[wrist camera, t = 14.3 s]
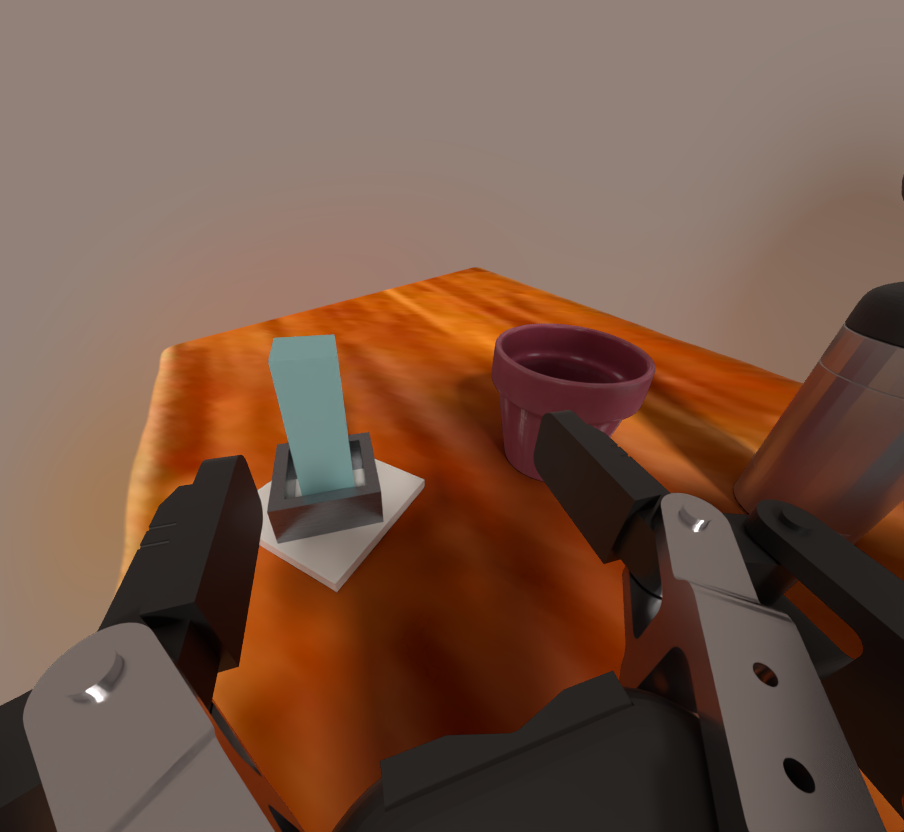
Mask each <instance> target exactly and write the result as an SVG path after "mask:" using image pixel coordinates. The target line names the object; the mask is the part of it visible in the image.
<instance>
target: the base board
mask: <svg viewBox="0 0 904 832" xmlns="http://www.w3.org/2000/svg"><path fill="white" fill-rule="evenodd" d="M375 464H376V468H377V473H378V478H379V483H380V488H381V495H382V508H383V521H384V522H381V523H376V524H371V525H367V526H362V527H357V528H352V529H347V530H342V531H338V532H333V533H328V534H323V535H318V536H313V537H309V538H304V539H299V540H294V541H289V542H285V543H280V544H278V543H277V540H276V537H275V535H274V532H273V529H272V526H271V523H270V520H269V517H268V514H267V509H268V502H269V496H270V489H271V482H272V481H270V482H269V483H267V484H266V485H265V486H263V487H262V488H260V489H259V490H258V494H259V497H260V499H261V503H262V509H263V525H262V531H261V537H260V543H259V545H260V546H262V547H264V548H265V549H267V550H269V551H270V552H272V553H273V554H275V555H277V556H278V557H280V558H282V559H283V560H285V561H287V562H288V563H290V564H291V565H293V566H295V567H296V568H298V569H300V570H301V571H303V572H305V573H306V574H308V575H309V576H311V577H313V578H314V579H316V580H318V581H319V582H321V583H323V584H324V585H326V586H327V587H329V588H331V589H332V590H334V591H336V592H338V590H339V589H340V588H341V587H342V586H343V584H344V583H345V582H346V581H347V580H348V578H349V577H350V576H351V575H352V574H353V572H354V571H355V570H356V569H357V568H358V566H359V565H360V564H361V563H362V562H363V560H364V559H365V558H366V557H367V556H368V554H369V553H370V552H371V551H372V550H373V548H374V547H375V546H376V545H377V544H378V542H379V541H380V540H381V539H382V538H383V536H384V535H385V534H386V533H387V532H388V530H389V529H390V528H391V527H392V526H393V524H394V523H395V522H396V521H397V520H398V518H399V517H400V516H401V515H402V514H403V512H404V511H405V510H406V509H407V508H408V506H409V505H410V504H411V503H412V502H413V500H414V499H415V498H416V497H417V496H418V494H419V493H420V492H421V491H422V490H423V488H424V487H425V480H424V479H422V478H419V477H417V476H415V475H412V474H410V473H407V472H405V471H403V470H400V469H398V468H395V467H393V466H390V465H388V464H386V463H383V462H381V461H378V460H376V459H375ZM353 477H354V484H355V487H357V486H363V485H365V481H364V475H363V469H357V470H353ZM300 496H302V494H301V490H300V486H299V482H298V479H296V490H295V497H300Z"/></svg>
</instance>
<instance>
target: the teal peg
mask: <svg viewBox="0 0 904 832" xmlns="http://www.w3.org/2000/svg"><path fill="white" fill-rule="evenodd" d="M268 362H269V366H270V370H271V374H272V378H273V382H274V386H275V390H276V394H277V398H278V402H279V406H280V410H281V414H282V418H283V422H284V426H285V430H286V434H287V438H288V442H289V446H290V450H291V454H292V458H293V462H294V466H295V470H296V474H297V478H298V482H299V486H300V490H301V494H302V496H306V495H312V494H317V493H323V492H329V491H334V490H340V489H346V488H352V487H355V484H354V477H353V469H352V462H351V454H350V447H349V439H348V432H347V424H346V416H345V409H344V401H343V394H342V386H341V379H340V371H339V364H338V356H337V350H336V343H335V336H334V335H318V336H300V337H283V338H274V339H273V344H272V348H271V352H270V357H269V361H268Z"/></svg>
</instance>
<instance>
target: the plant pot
mask: <svg viewBox="0 0 904 832" xmlns="http://www.w3.org/2000/svg"><path fill="white" fill-rule="evenodd" d="M654 373H655V364H654V362H653V360H652V358H651V357H650V356H649V355H648V354H647V353H646V352H644V351H643V350H642V349H640V348H639V347H637V346H635V345H633V344H632V343H630V342H628V341H625V340H623V339H621V338H618V337H616V336H613V335H610V334H607V333H604V332H601V331H597V330H593V329H589V328H584V327H578V326H571V325H562V324H530V325H524V326H519V327H515V328H512V329H509V330H507V331H505V332H504V333H502V334H501V335H500V336H499V337H498V339H497V340H496V344H495V350H494V358H493V366H492V381H493V383H494V385H495V387H496V389H497V390H498V391H499V392H500V407H501V419H502V429H503V439H504V450H505V455H506V457H507V459H508V461H509V462H510V463H511V464H512V466H513V467H515V468H516V469H517V470H518V471H520V472H521V473H523V474H525V475H526V476H529V477H531V478H533V479H536V480H540V481H543V479H542V478H541V476H540V475H539V474H538V472H537V470H536V468H535V465H534V458H533V455H534V449H535V445H536V441H537V436H538V432H539V428H540V424H541V420H542V417H543V415H544V414H546V413H550V412H557V411H564V410H571V411H573V412H574V413H576V414H577V415H578V416H579V417H580V418H581V419H582V420H583V421H584V422H585V423H586V424H589V425H591V426H593V427H595V428H597V429H598V430H600V431H602V432H604V433H605V434H606V435H608V436H609V437H611V435H612V434H613V432H614V431H615V430H616V428H617V427H618V425H619V424H620V422H621V421H622V420H623V419H625V418H628V417H630V416H632V415H633V414H635V413H636V412H637V411H638V410H639V409H640V407H641V406H642V403H643V401H644V399H645V397H646V395H647V392H648V390H649V387H650V384H651V382H652V379H653V376H654ZM543 482H544V481H543Z"/></svg>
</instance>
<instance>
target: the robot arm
mask: <svg viewBox="0 0 904 832" xmlns="http://www.w3.org/2000/svg"><path fill="white" fill-rule="evenodd" d="M902 197H903V200H904V176H903V180H902ZM533 458H534V465H535V468H536V470H537V472H538V474H539V475H540V476H541V478H542V479H543V481H544V482H545V483H546V485H547V486H548V488H549V489H550V490H551V492H552V493H553V494H554V496H555V497H556V499H557V500H558V501H559V503H560V504H561V506H562V507H563V508H564V510H565V511H566V512H567V514H568V515H569V517H570V518H571V519H572V521H573V522H574V523H575V525H576V526H577V528H578V529H579V530H580V532H581V533H582V535H583V536H584V537H585V539H586V540H587V541H588V543H589V544H590V546H591V547H592V548H593V550H594V551H595V553H596V554H597V555H598V557H599V558H600V559H601V561H602V562H603V564H606V563H609V562H612V561H616V560H619V559H621V560H622V562H623V563H624V564H625V567H624V569H623V573H622V580H623V602H624V623H625V652H624V657H623V660H622V663H621V668H620V675H619V680H618V678H617V677H616V675H615V673H614V672H613V671H611V672H608V673H605V674H603V675H600V676H598V677H595V678H593V679H590V680H587V681H585V682H582V683H580V684H577V685H575V686H572V687H569V688H567V689H564V690H563V691H562V692H561V693H560V694H558V695H557V696H556V697H555V698H554V699H553V700H552V701H551V702H550V703H548V704H547V705H546V706H545V707H544V708H543V709H542V710H541V711H540V712H538V713H537V714H536V715H535V716H534V717H533V718H532V719H531V720H529V721H528V722H527V723H526V724H525V725H524V726H523V727H522V728H521V729H519V730H518V731H516V732H513V733H505V734H475V735H446V736H443V737H441V738H438V739H436V740H433V741H431V742H428V743H425V744H423V745H420V746H418V747H415V748H413V749H410V750H407V751H405V752H402V753H400V754H397V755H395V756H392V757H389V758H387V759H384V760H382V761H380V765H381V775H382V777H381V778H380V779H379V780H378V781H377V782H375V783H374V784H373V785H372V786H371V787H369V788H368V789H367V790H366V791H365V792H364V793H363V794H362V795H361V796H360V797H359V798H358V799H357V800H356V801H355V802H354V804H353V805H352V806H351V807H350V808H349V810H348V811H347V812H346V813H345V815H344V816H343V817H342V818H341V820H340V821H339V822H338V824H337V825H336V826H335V828H334V830H333V831H332V832H887V831H886V829H885V827H884V824H883V822H882V820H881V818H880V815H879V813H878V811H877V809H876V806H875V804H874V802H873V799H872V797H871V795H870V793H869V790H868V788H867V786H866V784H865V781H864V779H863V777H862V774H861V772H860V770H861V771H862V772H863V773H864V774H865V775H866V777H867V778H868V779H869V780H870V781H871V782H872V784H873V785H874V786H875V787H876V788H877V789H878V791H879V792H880V793H881V794H882V795H883V796H884V798H885V799H886V800H887V801H888V802H889V803H890V805H891V806H892V807H893V808H894V809H895V810H896V811H897V813H898V814H899V815H900V816H901V817H902V818H903V820H904V581H902V580H901V579H900V578H898V577H897V576H896V575H894V574H893V573H891V572H890V571H889V570H887V569H886V568H885V567H883V566H882V565H881V564H879V563H878V562H876V561H875V560H874V559H872V558H871V557H870V556H868V555H867V554H866V553H864V552H863V551H861V550H860V549H859V548H857V547H856V546H855V545H854V544H855V543H856V542H858V541H859V540H860V539H861V538H862V537H863V536H864V535H865V534H866V533H867V532H868V531H870V530H871V529H872V528H873V527H874V526H875V525H876V524H877V523H878V522H879V521H881V520H882V519H883V518H884V517H885V516H886V515H887V514H889V513H890V512H891V511H892V510H893V509H894V508H895V507H896V506H897V505H898V504H899V503H900V502H902V501H903V500H904V282H898V283H893V284H887V285H883V286H880V287H877V288H875V289H872V290H871V291H869V292H868V293H867V294H866V295H864V296H863V297H862V299H861V300H860V301H859V303H858V304H857V305H856V307H855V308H854V310H853V311H852V312H851V314H850V315H849V317H848V318H847V320H846V321H845V323H844V324H843V326H842V327H841V329H840V330H839V332H838V333H837V335H836V336H835V338H834V339H833V340H832V342H831V343H830V345H829V346H828V348H827V349H826V351H825V352H824V354H823V355H822V357H821V359H820V360H819V362H818V363H817V364H816V366H815V367H814V369H813V370H812V372H811V373H810V375H809V376H808V377H807V379H806V380H805V382H804V383H803V385H802V386H801V388H800V389H799V391H798V392H797V394H796V395H795V397H794V398H793V399H792V401H791V402H790V404H789V405H788V407H787V408H786V410H785V411H784V413H783V414H782V416H781V417H780V419H779V420H778V421H777V423H776V424H775V426H774V427H773V429H772V430H771V432H770V433H769V435H768V436H767V438H766V439H765V441H764V442H763V443H762V445H761V446H760V448H759V449H758V451H757V452H756V454H755V455H754V456H753V458H752V459H751V461H750V462H749V464H748V465H747V467H746V468H745V470H744V471H743V473H742V474H741V475H740V477H739V478H738V480H737V481H736V483H735V484H734V488H733V490H734V495H735V497H736V499H737V501H738V502H739V504H740V505H741V506H742V507H743V508H744V510H745V511H747V512H748V513H749V515H742V514H729V513H721V512H720V511H719V510H718V509H717V508H715V507H714V506H712V505H711V504H709V503H708V502H706V501H704V500H702V499H700V498H698V497H695V496H692V495H689V494H684V493H670V492H669V491H668V490H667V489H665V488H664V487H663V486H662V485H661V484H660V483H659V482H658V481H657V480H656V479H655V478H653V477H652V476H651V475H650V474H649V473H648V472H647V471H646V470H645V469H644V468H643V467H641V466H640V465H639V464H638V463H637V462H636V461H635V460H634V459H633V458H632V457H628V454H627V453H626V452H625V451H624V450H623V449H622V448H621V447H618V446H617V444H616V443H615V442H614V441H613V440H612V439H611V438H610V437H609V436H608V435H606V434H605V433H604V432H602V431H600V430H598V429H597V428H595V427H593V426H591V425H589V424H586V423H585V422H584V421H583V420H582V419H581V418H580V417H579V416H578V415H577V414H576V413H574V412H573V411H571V410H564V411H557V412H550V413H546V414H544V415H543V417H542V420H541V424H540V428H539V432H538V436H537V441H536V445H535V449H534V455H533ZM262 525H263V509H262V503H261V499H260V497H259V494H258V491H257V489H256V486H255V483H254V480H253V478H252V475H251V472H250V470H249V467H248V464H247V462H246V459H245V458H244V456H242V455H236V456H229V457H222V458H215V459H208V460H204V461H203V462H202V464H201V466H200V468H199V470H198V473H197V475H196V478H195V480H194V482H193V484H191V485H184V486H179V487H178V488H177V489H176V490H175V491H174V492H173V493H172V494H171V495H170V496H169V497H168V498H167V499H166V500H165V501H164V502H163V503H161V504H160V505H159V507H158V509H157V511H156V513H155V515H154V517H153V520H152V522H151V524H150V526H149V531H147V532H146V534H145V536H144V538H143V540H142V542H141V544H140V546H141V548H140V549H139V550H137V552H136V554H135V556H134V558H133V560H132V562H131V564H130V567H129V569H128V571H127V573H126V575H125V577H124V579H123V581H122V583H121V585H120V587H119V589H118V591H117V593H116V595H115V597H114V599H113V601H112V603H111V605H110V608H109V609H108V611H107V614H106V616H105V618H104V620H103V622H102V624H101V626H100V627H99V629H98V631H97V632H96V633H94V634H92V635H90V636H88V637H87V638H85V639H83V640H82V641H80V642H79V643H77V644H76V645H75V646H73V647H72V648H70V649H69V650H68V651H66V652H65V653H64V654H63V655H62V656H61V657H59V658H58V659H57V660H56V661H55V662H54V663H53V664H52V665H51V666H50V667H49V668H48V670H47V671H46V672H45V673H44V674H43V675H42V677H41V678H40V679H39V681H38V682H37V684H36V685H35V687H34V688H33V689H32V690H30V691H28V692H26V693H25V694H23V695H21V696H19V697H17V698H15V699H13V700H11V701H9V702H7V703H5V704H3V705H1V706H0V832H305V831H304V829H303V828H302V826H301V825H300V823H299V822H298V820H297V819H296V818H295V816H294V815H293V813H292V812H291V810H290V809H289V808H288V806H287V805H286V804H285V802H284V801H283V799H282V798H281V797H280V796H279V794H278V793H277V792H276V790H275V789H274V788H273V787H272V785H271V784H270V783H269V781H268V780H267V778H266V777H265V775H264V774H263V773H262V771H261V770H260V768H259V767H258V765H257V764H256V762H255V761H254V759H253V758H252V756H251V755H250V753H249V752H248V750H247V749H246V747H245V746H244V744H243V743H242V741H241V740H240V739H239V737H238V736H237V734H236V733H235V731H234V730H233V728H232V727H231V725H230V724H229V722H228V721H227V719H226V718H225V716H224V715H223V713H222V712H221V710H220V709H219V707H218V706H217V704H216V703H215V701H214V700H213V699H212V697H213V693H214V688H215V683H216V678H217V673H218V672H222V671H225V670H229V669H232V668H236V667H239V662H240V656H241V650H242V644H243V638H244V632H245V626H246V620H247V614H248V608H249V602H250V597H251V591H252V585H253V579H254V573H255V567H256V561H257V555H258V549H259V543H260V537H261V531H262ZM798 580H799V581H800V582H802V583H803V584H804V585H805V586H806V587H807V588H808V589H809V590H810V591H812V592H813V593H814V594H815V595H816V596H817V597H818V598H819V599H820V600H822V601H823V602H824V603H825V604H826V605H827V606H828V607H829V608H830V609H832V610H833V611H834V612H835V613H836V614H837V615H838V616H839V617H840V618H842V619H843V620H844V621H845V622H846V623H847V624H848V625H849V626H850V627H851V628H852V629H853V630H854V631H855V632H856V633H857V634H858V636H859V637H860V639H861V641H862V644H863V653H862V655H861V656H860V657H858V658H857V659H855V660H854V659H852V658H850V657H849V656H847V655H846V654H845V653H844V652H842V651H841V650H840V649H839V648H838V647H837V646H836V645H835V644H834V643H833V642H832V641H831V640H830V639H829V638H828V637H827V636H826V635H825V634H824V633H823V632H822V631H821V630H820V629H819V628H818V627H817V626H815V625H814V624H813V623H812V622H811V621H810V620H809V619H808V618H807V617H806V616H805V615H804V614H803V613H802V612H801V611H800V610H799V609H798V608H797V607H796V606H795V605H794V604H793V603H792V602H791V601H790V600H789V599H788V598H787V597H785V596H784V595H783V594H784V593H785V592H786V591H787V590H788V589H789V588H791V587H792V586H793V585H794V584H795V583H796V582H797V581H798ZM858 767H859V768H860V770H859V768H858ZM901 832H904V830H902V831H901Z"/></svg>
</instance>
